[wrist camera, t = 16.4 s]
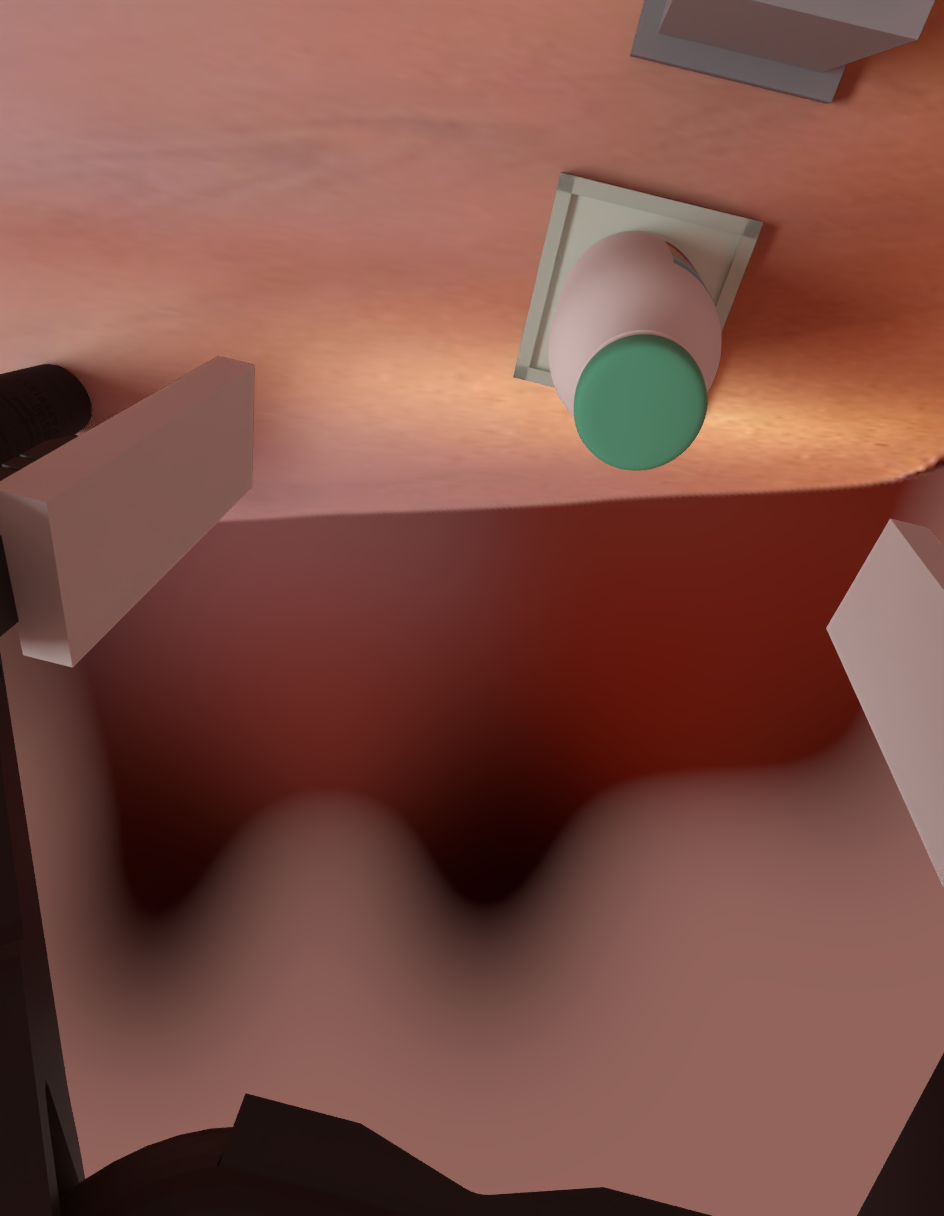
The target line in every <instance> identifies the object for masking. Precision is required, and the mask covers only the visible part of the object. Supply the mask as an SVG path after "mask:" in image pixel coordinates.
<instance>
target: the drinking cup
mask: <svg viewBox="0 0 944 1216" xmlns="http://www.w3.org/2000/svg"><path fill="white" fill-rule="evenodd" d="M90 417H91V403H90V399H89V397H88V394H87V392H86V390H85V389H84V387H83V386H82V384H81V383H80V382H79V381H78V379H77V378H76V377H75V376H73V375H72V374H71V373H70V372H68V371H67V370H65V369H63V368H61V367H58V366H55V365H50V364H43V365H38V366H34V367H29V368H25V369H21V370H17V371H12V372H8V373H4V374H0V468H2V464H4V463H5V462H7V461H9V460H11V459H13V458H15V457H19V458H20V454H22V453H24V452H26V451H27V450H29V449H31V448H33V447H35V446H37V445H38V444H40V443H42V442H45V441H49V440H53V439H57V438H61V437H65V436H69V435H75V434H76V433H78V432H79V431H80V430H82V429H83V428H84V427H85V426H86V425H87V424H88V422H89V420H90Z"/></svg>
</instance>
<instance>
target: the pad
mask: <svg viewBox="0 0 944 1216" xmlns="http://www.w3.org/2000/svg"><path fill="white" fill-rule="evenodd" d="M762 225H763V222H761V221H758V220H754V219H750V218H746V217H742V216H738V215H734V214H730V213H725V212H721V211H717V210H713V209H709V208H705V207H701V206H697V205H693V204H689V203H685V202H681V201H677V200H673V199H669V198H665V197H661V196H656V195H652V194H648V193H644V192H640V191H636V190H632V189H628V188H624V187H620V186H616V185H612V184H608V183H604V182H600V181H596V180H592V179H587V178H583V177H579V176H575V175H571V174H567V173H563V172H562V173H561V175H560V179H559V184H558V188H557V192H556V197H555V201H554V205H553V209H552V214H551V218H550V222H549V227H548V231H547V235H546V239H545V244H544V248H543V252H542V257H541V261H540V265H539V269H538V274H537V278H536V282H535V287H534V291H533V295H532V299H531V304H530V308H529V312H528V316H527V321H526V325H525V329H524V334H523V338H522V342H521V346H520V351H519V355H518V359H517V364H516V368H515V372H514V376H513V377H515V378H519V379H523V380H527V381H531V382H535V383H538V384H542V385H546V386H550V387H554V384H553V381H552V377H551V372H550V367H549V357H548V349H549V338H550V331H551V325H552V322H553V318H554V314H555V310H556V307H557V303H558V300H559V297H560V294H561V291H562V288H563V285H564V282H565V280H566V278H567V276H568V274H569V272H570V270H571V268H572V267H573V265H574V264H575V262H576V261H577V260H578V258H579V257H580V256H581V255H582V254H583V253H584V252H585V251H586V250H587V249H588V248H589V247H591V246H592V245H593V244H595V243H596V242H598V241H599V240H601V239H603V238H605V237H607V236H610V235H612V234H615V233H619V232H624V231H633V230H635V231H646V232H651V233H655V234H657V235H660V236H662V237H664V238H666V239H668V240H669V241H670V242H672V243H673V244H674V245H676V246H677V247H678V248H679V249H680V250H681V251H682V252H683V253H684V254H685V255H686V257H687V258H688V259H689V261H690V262H691V264H692V265H693V267H694V268H695V270H696V271H697V273H698V274H699V276H700V278H701V279H702V281H703V283H704V284H705V286H706V288H707V290H708V291H709V293H710V295H711V298H712V300H713V302H714V305H715V307H716V310H717V313H718V316H719V321H720V326H721V333H722V330H723V327H724V325H725V322H726V320H727V317H728V314H729V312H730V309H731V306H732V304H733V301H734V299H735V296H736V293H737V291H738V288H739V286H740V283H741V280H742V278H743V275H744V272H745V270H746V267H747V265H748V262H749V259H750V257H751V254H752V251H753V249H754V246H755V244H756V241H757V238H758V236H759V233H760V231H761V228H762ZM554 388H555V387H554Z"/></svg>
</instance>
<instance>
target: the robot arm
mask: <svg viewBox="0 0 944 1216" xmlns="http://www.w3.org/2000/svg"><path fill="white" fill-rule="evenodd" d="M254 374H255V365H253V364H249V363H245V362H241V361H237V360H233V359H229V358H224V357H220V356H217V357H216V358H214V359H212V360H210V361H209V362H207V363H205V364H203V365H202V366H200V367H198V368H197V369H195V370H193V371H191V372H190V373H188V374H186V375H184V376H183V377H181V378H179V379H177V380H176V381H174V382H172V383H170V384H169V385H167V386H165V387H163V388H162V389H160V390H158V391H157V392H155V393H153V394H151V395H150V396H148V397H146V398H144V399H143V400H141V401H139V402H137V403H136V404H134V405H132V406H130V407H129V408H127V409H125V410H123V411H122V412H120V413H118V414H116V415H115V416H113V417H111V418H110V419H108V420H106V421H104V422H103V423H101V424H99V425H97V426H96V427H94V428H92V429H90V430H89V431H87V432H85V433H83V434H82V435H80V436H77V435H69V436H65V437H61V438H57V439H53V440H49V441H45V442H42V443H40V444H38V445H37V446H35V447H33V448H31V449H29V450H27V451H26V452H24V453H22V454H20V458H19V457H15V458H13V459H11V460H9V461H7V462H5V463H4V464H2V468H0V636H2V635H3V634H4V633H5V632H6V631H7V630H9V629H10V628H11V627H12V626H14V625H15V624H16V623H17V628H18V633H19V638H20V643H21V647H22V652H23V655H25V656H30V657H33V658H37V659H41V660H45V661H49V662H53V663H57V664H61V665H65V666H69V667H73V666H74V665H75V664H76V663H77V662H78V661H79V660H80V659H81V658H82V657H83V656H84V655H85V654H86V653H87V652H88V651H89V650H90V649H91V648H92V647H93V646H94V645H95V644H96V643H97V642H98V641H99V640H100V639H101V638H102V637H103V636H104V635H105V634H106V633H107V632H108V631H109V630H110V629H111V628H112V627H113V626H114V625H115V624H116V623H117V622H118V621H119V620H120V619H121V618H122V617H123V616H124V615H125V614H126V613H127V612H128V611H129V610H130V609H131V608H132V607H133V606H134V605H135V604H136V603H137V602H138V601H139V600H140V599H141V598H142V597H143V596H144V595H145V594H146V593H147V592H148V591H149V590H150V589H151V588H152V587H153V586H154V585H155V584H156V583H157V582H158V581H159V580H160V579H161V578H162V577H163V576H164V575H165V574H166V573H167V572H168V571H169V570H170V569H171V568H172V567H173V566H174V565H175V564H176V563H177V562H178V561H179V560H180V559H181V558H182V557H183V556H184V555H185V554H186V553H187V552H188V551H189V550H190V549H191V548H192V547H193V546H194V545H195V544H196V543H197V542H198V541H199V540H200V539H201V538H202V537H203V536H204V535H205V534H206V533H207V532H208V531H209V530H210V529H211V528H212V527H213V526H214V525H215V524H216V523H217V522H218V521H219V520H220V519H221V518H222V517H223V516H224V515H225V514H226V513H227V512H228V511H229V510H230V509H231V508H232V507H233V506H234V505H235V504H236V503H237V502H238V501H239V500H240V499H241V498H242V497H243V496H244V495H245V494H246V493H247V492H248V491H249V490H250V489H251V488H252V472H253V423H254ZM827 631H828V633H829V635H830V637H831V640H832V642H833V644H834V646H835V649H836V651H837V653H838V655H839V657H840V660H841V662H842V664H843V666H844V668H845V671H846V673H847V675H848V677H849V680H850V682H851V684H852V686H853V688H854V691H855V693H856V695H857V697H858V699H859V701H860V704H861V706H862V708H863V711H864V713H865V715H866V717H867V719H868V722H869V724H870V726H871V728H872V730H873V733H874V735H875V737H876V739H877V742H878V744H879V746H880V748H881V750H882V753H883V755H884V757H885V759H886V762H887V764H888V766H889V768H890V770H891V773H892V775H893V777H894V779H895V781H896V783H897V786H898V788H899V790H900V793H901V795H902V797H903V799H904V801H905V804H906V806H907V808H908V810H909V812H910V815H911V817H912V819H913V821H914V823H915V826H916V828H917V830H918V832H919V835H920V837H921V839H922V841H923V844H924V846H925V848H926V850H927V852H928V855H929V857H930V859H931V861H932V864H933V866H934V868H935V870H936V872H937V875H938V877H939V879H940V881H941V883H942V886H943V887H944V547H943V545H942V544H941V543H940V542H939V540H938V539H937V538H936V537H935V536H934V534H933V533H932V532H931V531H930V530H929V528H926V527H922V526H918V525H914V524H909V523H906V522H902V521H898V520H894V519H890V520H889V522H888V523H887V525H886V527H885V529H884V530H883V532H882V534H881V535H880V537H879V539H878V541H877V542H876V544H875V546H874V547H873V549H872V551H871V553H870V554H869V556H868V558H867V559H866V561H865V563H864V565H863V566H862V568H861V570H860V571H859V573H858V575H857V577H856V578H855V580H854V582H853V583H852V585H851V587H850V589H849V590H848V592H847V594H846V595H845V597H844V599H843V600H842V602H841V604H840V606H839V608H838V609H837V611H836V612H835V614H834V616H833V618H832V619H831V621H830V623H829V624H828V626H827ZM0 1216H711V1215H707V1214H703V1213H700V1212H695V1211H692V1210H687V1209H684V1208H681V1207H677V1206H673V1205H669V1204H665V1203H661V1202H658V1201H654V1200H650V1199H646V1198H642V1197H639V1196H635V1195H631V1194H627V1193H623V1192H619V1191H615V1190H612V1189H608V1188H604V1187H601V1188H586V1189H572V1190H556V1191H541V1192H528V1193H513V1194H497V1195H482V1194H477V1193H474V1192H471V1191H469V1190H467V1189H465V1188H463V1187H462V1186H460V1185H459V1184H457V1183H455V1182H454V1181H452V1180H451V1179H449V1178H447V1177H446V1176H444V1175H442V1174H441V1173H439V1172H438V1171H436V1170H435V1169H433V1168H431V1167H430V1166H428V1165H426V1164H425V1163H423V1162H422V1161H420V1160H418V1159H417V1158H415V1157H413V1156H412V1155H410V1154H409V1153H407V1152H406V1151H404V1150H402V1149H401V1148H399V1147H398V1146H396V1145H394V1144H393V1143H391V1142H389V1141H388V1140H386V1139H385V1138H383V1137H381V1136H380V1135H378V1134H377V1133H375V1132H373V1131H372V1130H370V1129H369V1128H367V1127H365V1126H364V1125H362V1124H360V1123H356V1122H353V1121H349V1120H345V1119H341V1118H337V1117H334V1116H330V1115H326V1114H322V1113H318V1112H315V1111H311V1110H307V1109H303V1108H299V1107H296V1106H292V1105H288V1104H284V1103H280V1102H276V1101H273V1100H269V1099H265V1098H261V1097H258V1096H254V1095H250V1094H245V1096H244V1099H243V1102H242V1105H241V1107H240V1110H239V1113H238V1115H237V1118H236V1121H235V1123H234V1126H233V1127H226V1128H214V1129H207V1130H202V1131H197V1132H192V1133H187V1134H182V1135H178V1136H175V1137H172V1138H169V1139H166V1140H163V1141H160V1142H157V1143H155V1144H152V1145H148V1146H146V1147H144V1148H142V1149H140V1150H138V1151H135V1152H133V1153H131V1154H129V1155H127V1156H125V1157H123V1158H121V1159H119V1160H116V1161H114V1162H112V1163H111V1164H109V1165H108V1166H106V1167H104V1168H103V1169H101V1170H99V1171H98V1172H96V1173H95V1174H93V1175H91V1176H90V1177H88V1178H87V1179H85V1176H84V1170H83V1164H82V1158H81V1153H80V1147H79V1142H78V1137H77V1132H76V1127H75V1122H74V1117H73V1112H72V1108H71V1103H70V1097H69V1092H68V1086H67V1080H66V1075H65V1067H64V1061H63V1054H62V1049H61V1041H60V1035H59V1029H58V1022H57V1016H56V1009H55V1003H54V996H53V990H52V983H51V977H50V971H49V964H48V957H47V951H46V944H45V938H44V931H43V925H42V918H41V912H40V906H39V899H38V892H37V886H36V879H35V873H34V866H33V861H32V854H31V847H30V841H29V834H28V828H27V821H26V815H25V808H24V803H23V796H22V790H21V782H20V776H19V770H18V763H17V756H16V750H15V743H14V737H13V731H12V724H11V717H10V711H9V705H8V698H7V692H6V685H5V679H4V672H3V666H2V659H1V655H0ZM857 1216H944V1053H943V1055H942V1057H941V1059H940V1061H939V1063H938V1065H937V1066H936V1069H935V1070H934V1072H933V1074H932V1076H931V1078H930V1080H929V1082H928V1083H927V1085H926V1087H925V1089H924V1091H923V1093H922V1095H921V1097H920V1098H919V1100H918V1102H917V1104H916V1106H915V1108H914V1110H913V1112H912V1113H911V1115H910V1117H909V1119H908V1121H907V1123H906V1125H905V1127H904V1129H903V1131H902V1132H901V1134H900V1136H899V1138H898V1140H897V1142H896V1143H895V1145H894V1147H893V1149H892V1151H891V1153H890V1155H889V1157H888V1159H887V1160H886V1162H885V1164H884V1166H883V1168H882V1170H881V1172H880V1174H879V1175H878V1177H877V1179H876V1181H875V1183H874V1185H873V1187H872V1189H871V1191H870V1193H869V1195H868V1196H867V1198H866V1200H865V1202H864V1204H863V1206H862V1207H861V1210H860V1211H859V1213H858V1215H857Z"/></svg>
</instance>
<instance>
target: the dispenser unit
mask: <svg viewBox="0 0 944 1216" xmlns="http://www.w3.org/2000/svg"><path fill="white" fill-rule="evenodd" d="M934 1H935V0H645V1H644V5H643V9H642V13H641V17H640V21H639V25H638V28H637V32H636V36H635V40H634V44H633V48H632V52H631V55H630V56H632V57H636V58H641V59H645V60H649V61H653V62H657V63H661V64H665V65H669V66H674V67H678V68H682V69H686V70H690V71H694V72H698V73H702V74H707V75H711V76H715V77H719V78H723V79H727V80H731V81H735V82H739V83H744V84H748V85H752V86H756V87H760V88H764V89H768V90H772V91H777V92H781V93H785V94H789V95H793V96H797V97H801V98H805V99H810V100H814V101H818V102H822V103H831V102H832V100H833V97H834V95H835V92H836V90H837V87H838V85H839V82H840V79H841V77H842V74H843V72H844V69H845V67H846V64H848V63H851V62H854V61H857V60H860V59H863V58H866V57H869V56H872V55H875V54H878V53H881V52H883V51H886V50H889V49H892V48H895V47H898V46H901V45H904V44H907V43H910V42H913V41H916V40H918V38H919V36H920V34H921V31H922V29H923V27H924V24H925V22H926V20H927V18H928V15H929V13H930V11H931V8H932V6H933V4H934Z"/></svg>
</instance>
